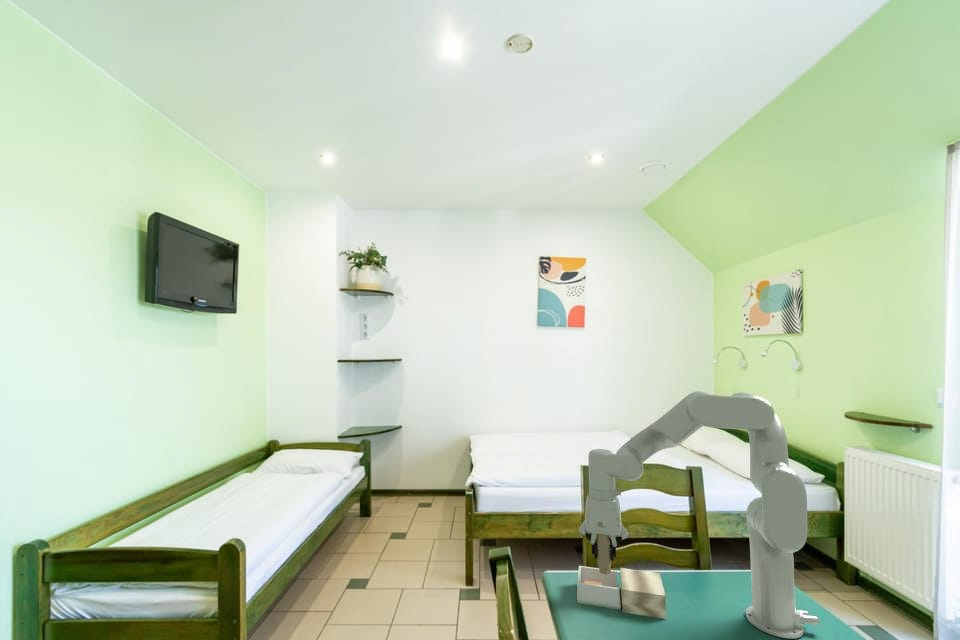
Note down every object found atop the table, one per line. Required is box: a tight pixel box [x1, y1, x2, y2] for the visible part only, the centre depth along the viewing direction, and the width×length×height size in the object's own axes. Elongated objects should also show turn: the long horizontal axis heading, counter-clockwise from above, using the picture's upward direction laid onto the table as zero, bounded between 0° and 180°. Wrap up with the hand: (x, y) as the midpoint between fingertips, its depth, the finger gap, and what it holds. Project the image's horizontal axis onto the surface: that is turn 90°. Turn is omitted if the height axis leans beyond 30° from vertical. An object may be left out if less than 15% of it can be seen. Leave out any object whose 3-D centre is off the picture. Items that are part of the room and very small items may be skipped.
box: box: [576, 565, 621, 611], centre depth 125 cm, size 12×10×5 cm
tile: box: [584, 580, 602, 586], centre depth 125 cm, size 5×5×2 cm
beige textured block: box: [619, 567, 667, 620], centre depth 122 cm, size 11×12×6 cm
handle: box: [596, 522, 612, 575], centre depth 125 cm, size 5×6×15 cm
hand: (603, 557), depth 125 cm, fingers closed on handle, 4 cm apart
